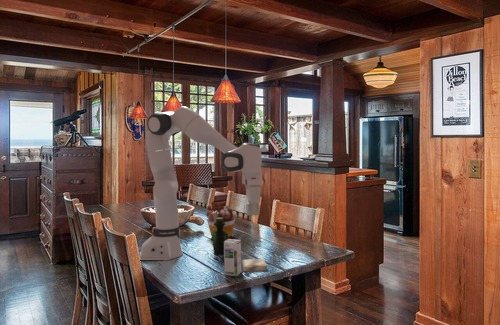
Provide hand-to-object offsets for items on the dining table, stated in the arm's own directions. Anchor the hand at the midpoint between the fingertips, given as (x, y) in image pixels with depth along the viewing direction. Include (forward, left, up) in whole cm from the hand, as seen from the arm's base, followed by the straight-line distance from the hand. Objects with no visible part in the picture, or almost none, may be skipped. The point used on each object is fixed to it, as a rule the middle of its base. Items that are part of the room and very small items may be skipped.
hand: (252, 210), depth 175 cm
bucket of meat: (-12, +58, -26) cm, 65 cm away
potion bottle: (-14, +24, -26) cm, 38 cm away
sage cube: (0, 0, -2) cm, 2 cm away
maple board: (0, 0, -26) cm, 26 cm away
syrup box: (-10, -7, -26) cm, 29 cm away
